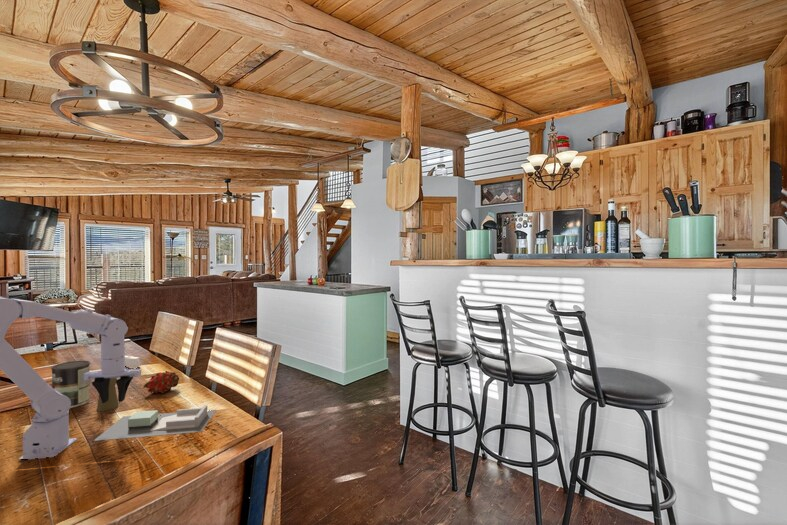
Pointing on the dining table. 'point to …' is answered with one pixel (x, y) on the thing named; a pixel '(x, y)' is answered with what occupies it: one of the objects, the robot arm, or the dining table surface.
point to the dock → (162, 425)
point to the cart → (143, 419)
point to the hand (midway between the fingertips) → (113, 401)
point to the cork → (112, 399)
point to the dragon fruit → (162, 382)
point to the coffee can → (72, 381)
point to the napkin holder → (132, 361)
